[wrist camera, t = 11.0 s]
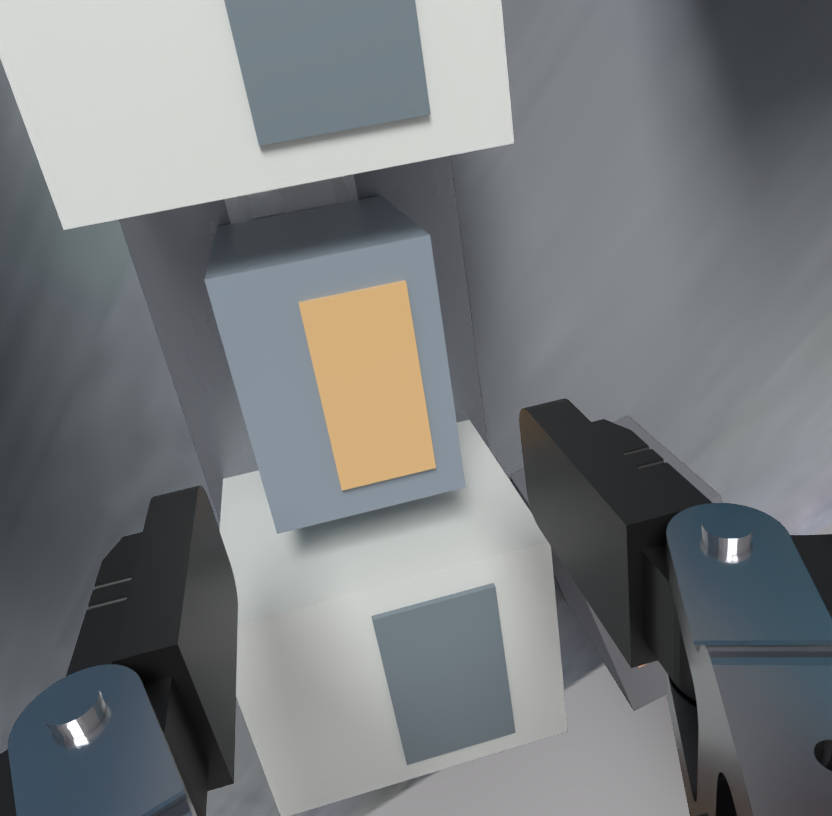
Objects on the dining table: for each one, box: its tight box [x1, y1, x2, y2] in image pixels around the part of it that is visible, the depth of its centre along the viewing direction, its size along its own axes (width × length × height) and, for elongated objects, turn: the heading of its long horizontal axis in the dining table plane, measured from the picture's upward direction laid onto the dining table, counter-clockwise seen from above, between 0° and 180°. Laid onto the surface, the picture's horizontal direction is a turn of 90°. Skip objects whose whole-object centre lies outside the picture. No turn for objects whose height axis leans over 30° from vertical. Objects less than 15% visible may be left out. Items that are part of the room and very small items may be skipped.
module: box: [204, 195, 466, 534], centre depth 18 cm, size 5×6×6 cm
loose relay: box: [510, 415, 722, 711], centre depth 26 cm, size 5×7×6 cm
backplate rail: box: [119, 155, 488, 520], centre depth 22 cm, size 9×22×2 cm, turn 9°
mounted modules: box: [0, 0, 568, 816], centre depth 18 cm, size 8×22×7 cm, turn 9°
